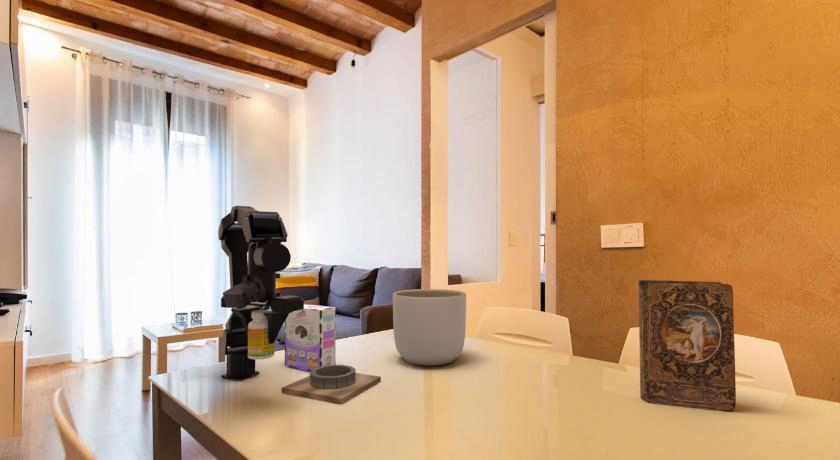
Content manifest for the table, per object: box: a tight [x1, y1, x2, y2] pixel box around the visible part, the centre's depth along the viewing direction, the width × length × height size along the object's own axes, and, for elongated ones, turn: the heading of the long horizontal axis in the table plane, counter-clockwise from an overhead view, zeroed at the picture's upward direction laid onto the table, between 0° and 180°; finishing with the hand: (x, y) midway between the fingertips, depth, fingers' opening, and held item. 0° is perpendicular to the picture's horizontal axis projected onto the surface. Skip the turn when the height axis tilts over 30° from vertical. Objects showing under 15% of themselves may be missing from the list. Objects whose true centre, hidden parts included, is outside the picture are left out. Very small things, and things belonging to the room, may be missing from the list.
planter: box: [392, 288, 467, 367], centre depth 122 cm, size 21×21×19 cm
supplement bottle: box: [248, 309, 276, 360], centre depth 92 cm, size 5×5×10 cm
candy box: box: [284, 303, 337, 373], centre depth 115 cm, size 14×6×16 cm, turn 58°
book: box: [638, 279, 737, 412], centre depth 90 cm, size 16×6×25 cm, turn 71°
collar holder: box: [281, 364, 382, 405], centre depth 99 cm, size 16×16×4 cm
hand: (261, 342), depth 92 cm, fingers closed on supplement bottle, 5 cm apart
